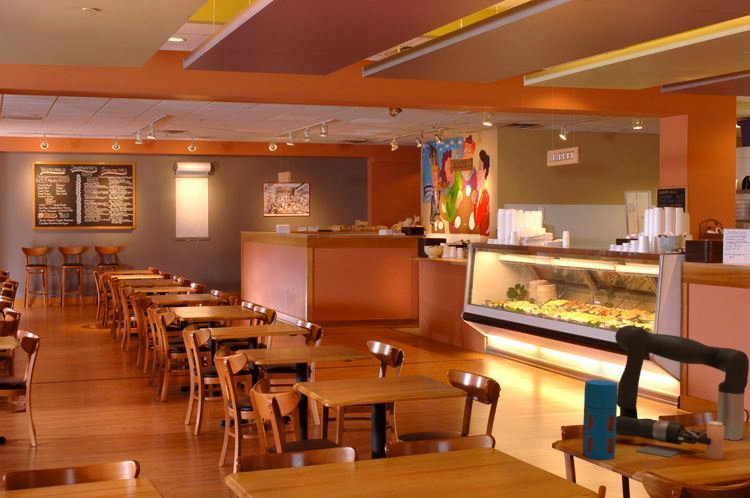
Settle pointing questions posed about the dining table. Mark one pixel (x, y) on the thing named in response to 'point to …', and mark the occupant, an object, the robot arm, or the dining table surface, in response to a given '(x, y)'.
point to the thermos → (599, 419)
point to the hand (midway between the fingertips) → (714, 439)
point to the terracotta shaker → (715, 440)
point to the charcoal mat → (659, 451)
